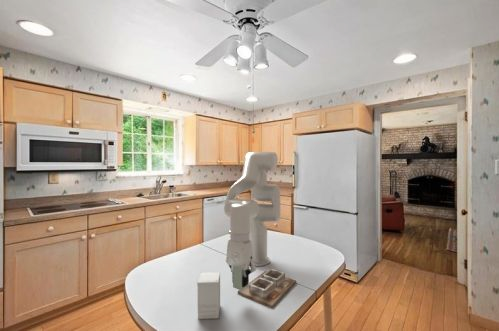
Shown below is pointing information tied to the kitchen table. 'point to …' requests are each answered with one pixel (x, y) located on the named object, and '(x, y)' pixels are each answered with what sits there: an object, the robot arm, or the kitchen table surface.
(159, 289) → the kitchen table surface
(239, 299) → the kitchen table surface
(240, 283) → the plug
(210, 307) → the supplement box
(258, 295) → the socket board
